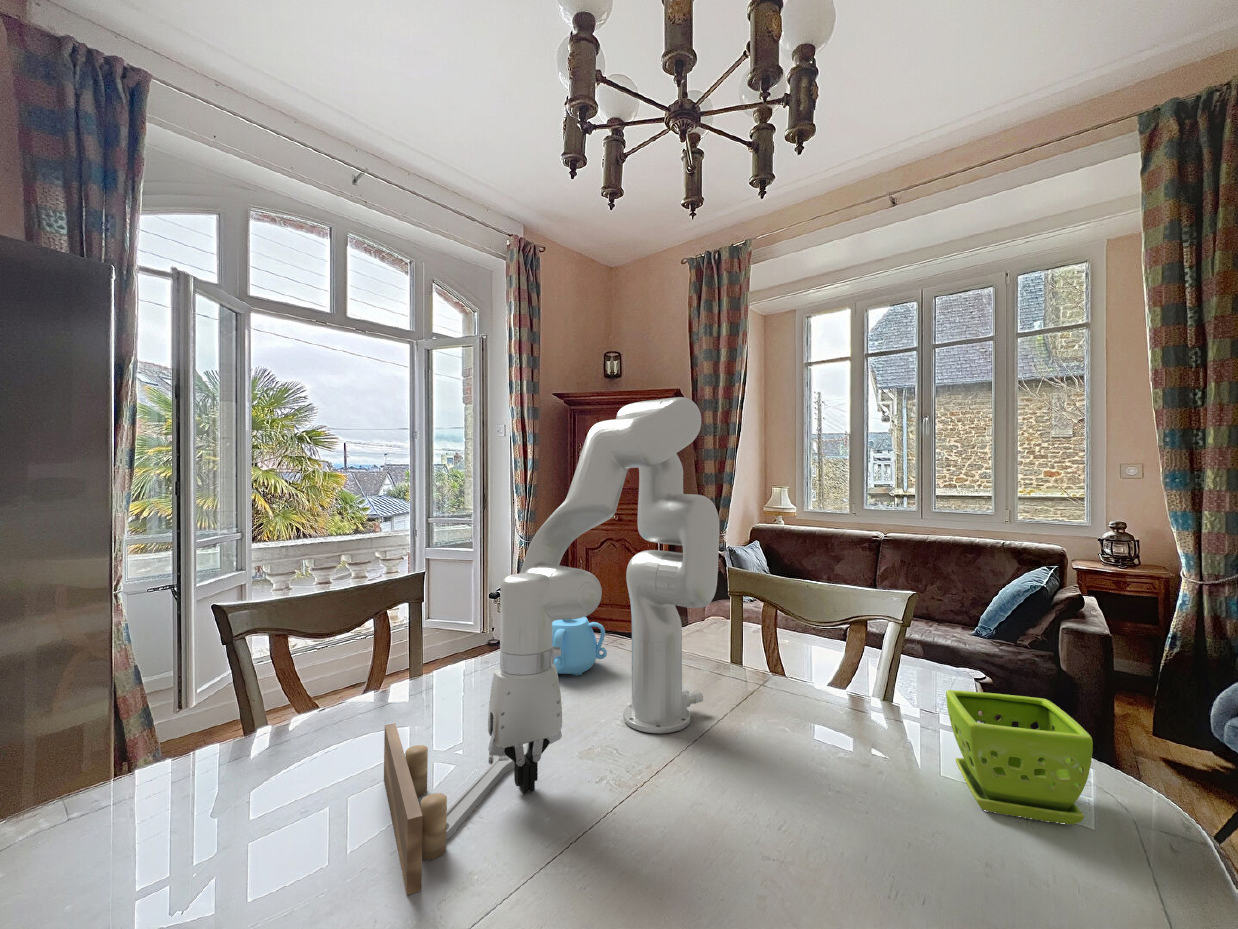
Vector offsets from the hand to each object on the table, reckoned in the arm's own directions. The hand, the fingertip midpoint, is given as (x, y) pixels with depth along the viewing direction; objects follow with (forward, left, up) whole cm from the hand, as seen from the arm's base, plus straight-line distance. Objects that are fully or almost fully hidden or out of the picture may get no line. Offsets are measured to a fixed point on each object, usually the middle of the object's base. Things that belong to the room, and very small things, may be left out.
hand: (525, 787), depth 78 cm
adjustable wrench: (+5, -4, -1) cm, 7 cm away
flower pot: (-59, +35, -1) cm, 69 cm away
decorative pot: (-25, -45, -1) cm, 52 cm away
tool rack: (+15, 0, 0) cm, 15 cm away
